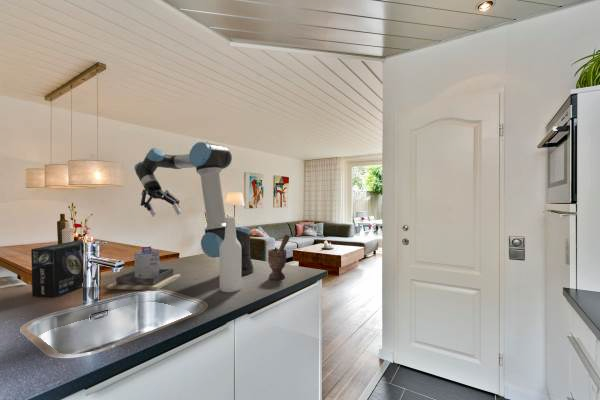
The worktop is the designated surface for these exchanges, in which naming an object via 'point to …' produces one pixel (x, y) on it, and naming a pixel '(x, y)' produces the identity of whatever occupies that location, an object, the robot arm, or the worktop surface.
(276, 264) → the mortar and pestle
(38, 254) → the box
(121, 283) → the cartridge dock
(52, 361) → the worktop surface
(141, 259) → the ink cartridge box
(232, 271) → the alcohol
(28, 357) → the worktop surface
